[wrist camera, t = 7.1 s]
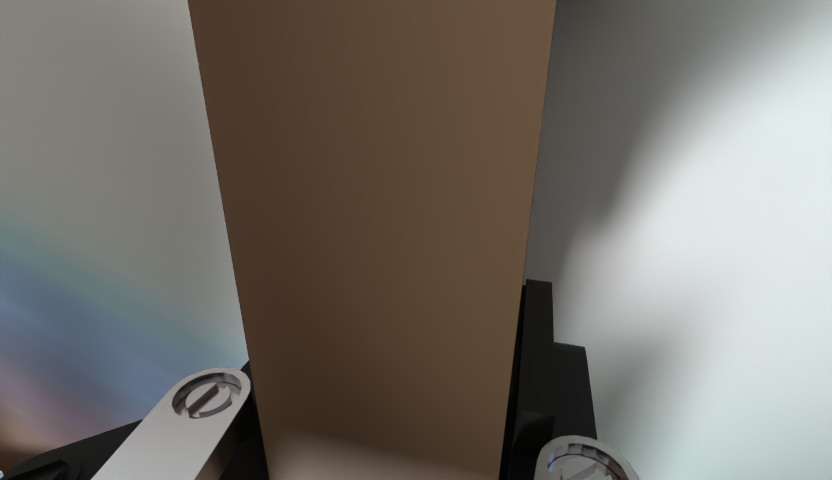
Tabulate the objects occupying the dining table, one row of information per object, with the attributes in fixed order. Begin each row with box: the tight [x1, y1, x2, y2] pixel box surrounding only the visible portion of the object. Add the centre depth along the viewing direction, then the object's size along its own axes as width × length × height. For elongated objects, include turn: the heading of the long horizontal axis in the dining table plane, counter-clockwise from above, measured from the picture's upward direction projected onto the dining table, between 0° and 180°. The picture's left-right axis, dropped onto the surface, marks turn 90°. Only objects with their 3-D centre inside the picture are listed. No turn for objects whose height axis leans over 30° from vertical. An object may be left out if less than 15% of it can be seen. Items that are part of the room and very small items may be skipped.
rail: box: [188, 0, 557, 480], centre depth 9 cm, size 3×16×5 cm, turn 0°
